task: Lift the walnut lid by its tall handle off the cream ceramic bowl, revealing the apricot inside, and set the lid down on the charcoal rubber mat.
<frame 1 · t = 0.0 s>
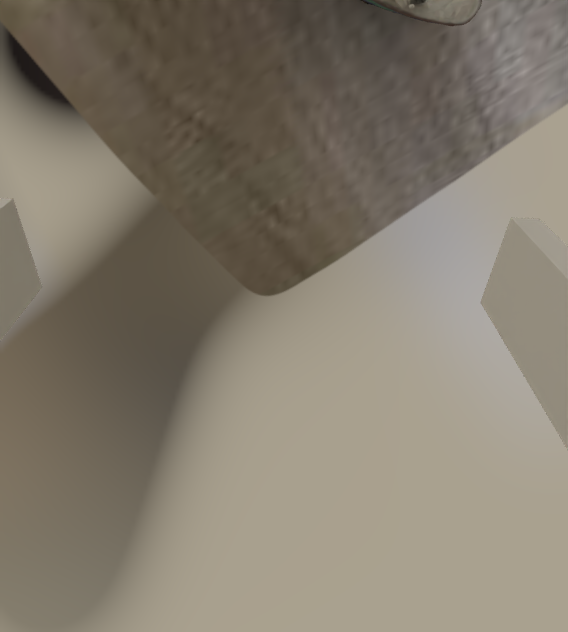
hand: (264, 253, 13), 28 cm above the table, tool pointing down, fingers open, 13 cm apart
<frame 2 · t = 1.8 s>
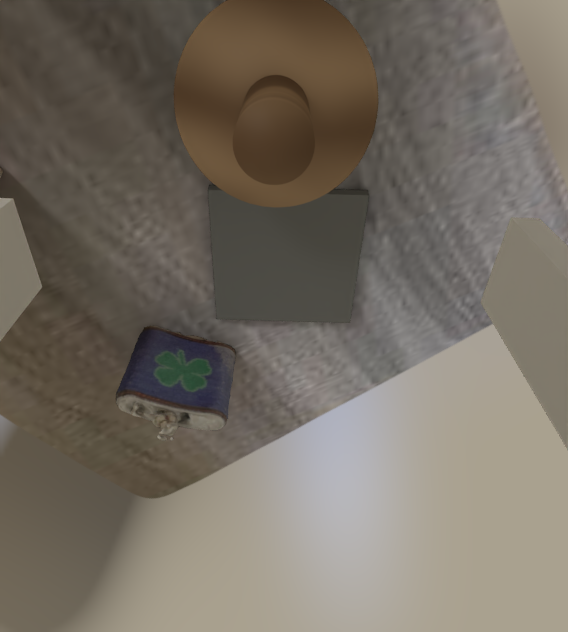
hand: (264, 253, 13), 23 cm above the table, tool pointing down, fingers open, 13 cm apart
mat: (285, 256, 38), on the table
lid: (276, 106, 26), point 6 cm above the table, touching bowl
flask: (189, 343, 44), on the table
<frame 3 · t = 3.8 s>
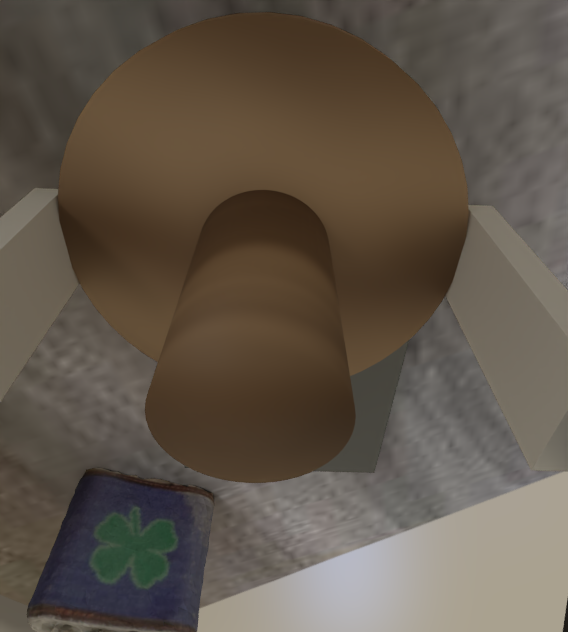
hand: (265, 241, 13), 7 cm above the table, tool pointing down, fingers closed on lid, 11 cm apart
mat: (283, 392, 26), on the table
lid: (265, 232, 14), point 6 cm above the table, touching bowl, gripper
flask: (150, 485, 32), on the table
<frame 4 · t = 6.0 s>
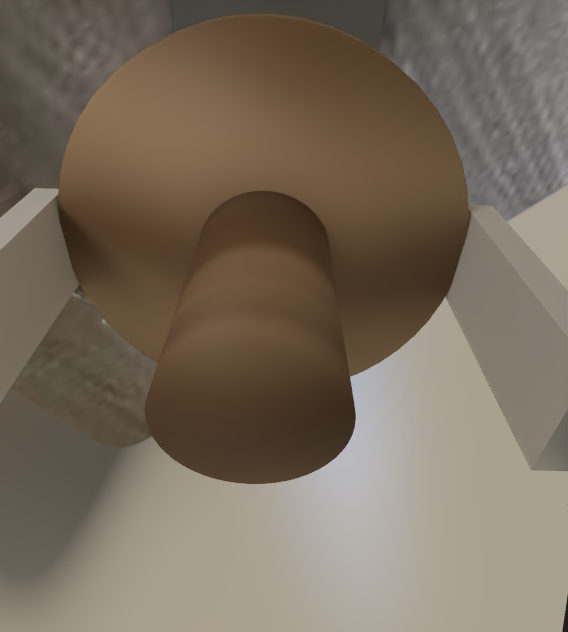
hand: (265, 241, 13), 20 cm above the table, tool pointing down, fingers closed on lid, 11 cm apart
mat: (275, 95, 29), on the table
lid: (265, 233, 14), point 19 cm above the table, touching gripper
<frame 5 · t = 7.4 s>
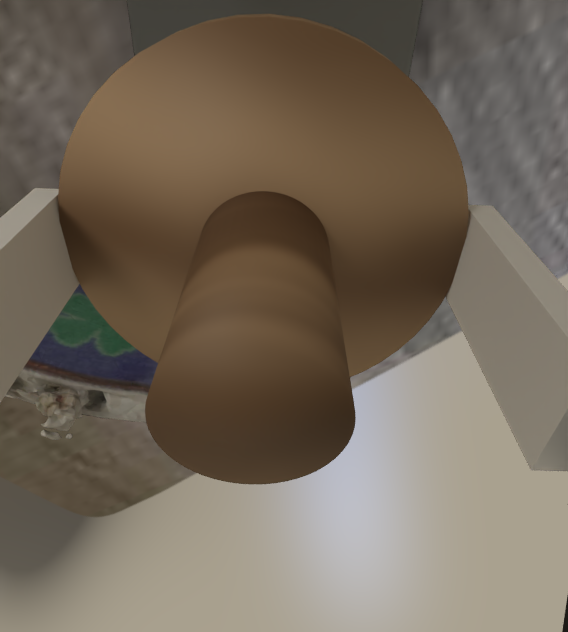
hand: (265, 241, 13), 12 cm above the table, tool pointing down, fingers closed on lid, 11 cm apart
mat: (272, 126, 23), on the table
lid: (265, 233, 14), point 11 cm above the table, touching gripper
flask: (124, 287, 29), on the table
when the fingers open (9 cm above the table, at t = 8.6 s): lid drops 7 cm, resting on mat.
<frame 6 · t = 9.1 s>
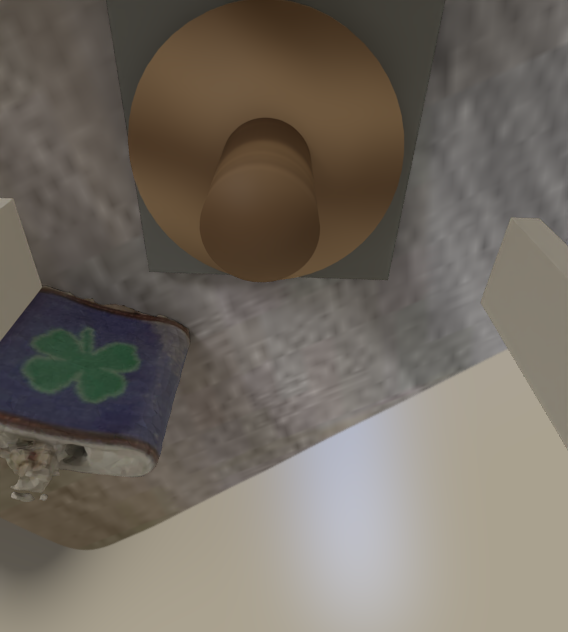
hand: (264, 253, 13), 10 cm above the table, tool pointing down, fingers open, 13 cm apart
mat: (272, 148, 20), on the table
lid: (267, 155, 20), point 1 cm above the table, touching mat
flask: (111, 318, 26), on the table
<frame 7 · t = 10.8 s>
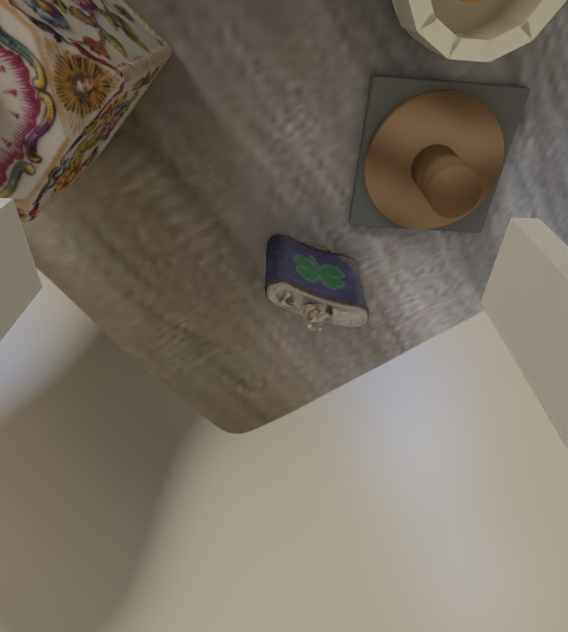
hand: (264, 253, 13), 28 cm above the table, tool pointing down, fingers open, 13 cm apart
decorative jar: (70, 51, 35), on the table
mat: (429, 158, 39), on the table
lid: (429, 162, 38), point 1 cm above the table, touching mat
flask: (311, 255, 45), on the table
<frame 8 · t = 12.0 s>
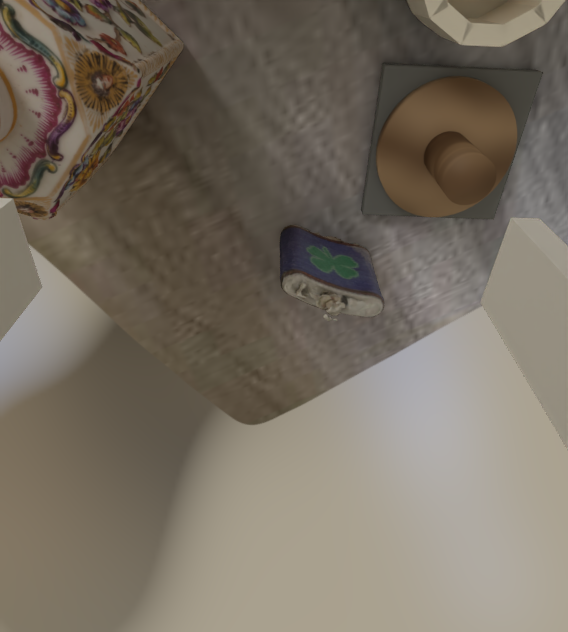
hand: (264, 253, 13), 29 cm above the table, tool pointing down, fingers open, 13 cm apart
decorative jar: (82, 49, 35), on the table
mat: (441, 146, 39), on the table
lid: (442, 149, 38), point 1 cm above the table, touching mat
flask: (324, 245, 45), on the table
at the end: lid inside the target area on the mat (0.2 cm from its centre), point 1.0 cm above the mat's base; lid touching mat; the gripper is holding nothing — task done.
